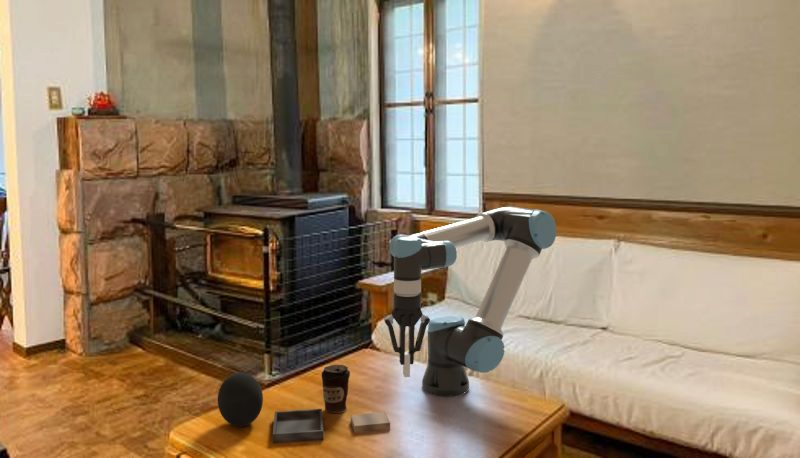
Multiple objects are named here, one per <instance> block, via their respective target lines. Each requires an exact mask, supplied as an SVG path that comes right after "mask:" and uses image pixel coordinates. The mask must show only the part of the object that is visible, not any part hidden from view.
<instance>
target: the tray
mask: <svg viewBox="0 0 800 458" xmlns="http://www.w3.org/2000/svg"><path fill="white" fill-rule="evenodd" d="M323 419H324V418H323V408H312V409H294V410H293V409H292V410H277V411H274V416H273V426H272V429H273V430H272V444H281V443H294V442H295V443H297V442H309V441H324V438H325V437H324V420H323Z"/></svg>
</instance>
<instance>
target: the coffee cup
mask: <svg viewBox="0 0 800 458" xmlns="http://www.w3.org/2000/svg"><path fill="white" fill-rule="evenodd" d="M348 368H349V367H348V366H346V365H343V364H331V365H327V366H324V368H323V370H322V372H321V381H322V382H321V383H322V392H323V393H322V394H323V395H322V396H323V402H324V408H325V411H326V412H328V413H331V414H341V413H345V412H346V411H347V409H348V408H347V406H346V404H347V397H348V395H349V381H350V376H351V372H350V370H348Z"/></svg>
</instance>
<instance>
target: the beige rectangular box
mask: <svg viewBox="0 0 800 458" xmlns="http://www.w3.org/2000/svg"><path fill="white" fill-rule="evenodd" d="M350 423H351V424H350V425H351V427H352V430H353V433H354V434H360V433H368V432H369V433H370V432H376V431H377V432H378V431H379V432H381V431H387V430H389V431H390V430H391V421H390V420H389V417H388V416H387V413H386V411H382V412H373V413H372V412H371V413H370V412H369V413H361V414H352V415H350Z"/></svg>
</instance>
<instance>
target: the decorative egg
mask: <svg viewBox="0 0 800 458" xmlns="http://www.w3.org/2000/svg"><path fill="white" fill-rule="evenodd" d="M263 402H264V396H263V390H262V387H261V385H260V383H259V382H258V380H257V379H256V378H255V377H254V376H252V374H249V373H247V372H235V373H232V374H230V375H229V376H228V377H226V378H225V379H224V380H223V382H222V383H221V384H220V387H219V390H218V393H217V406H218V410H219V413H220V415H221V417H222V418H223V419H224V421H226V422H227V423H228V424H229V425H232V426H234V427H246V426H248V425H250V424H252V423H253V422H255V420H257V418H259V417H258V416H259V415H260V413H261V411H262V409H263Z"/></svg>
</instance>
